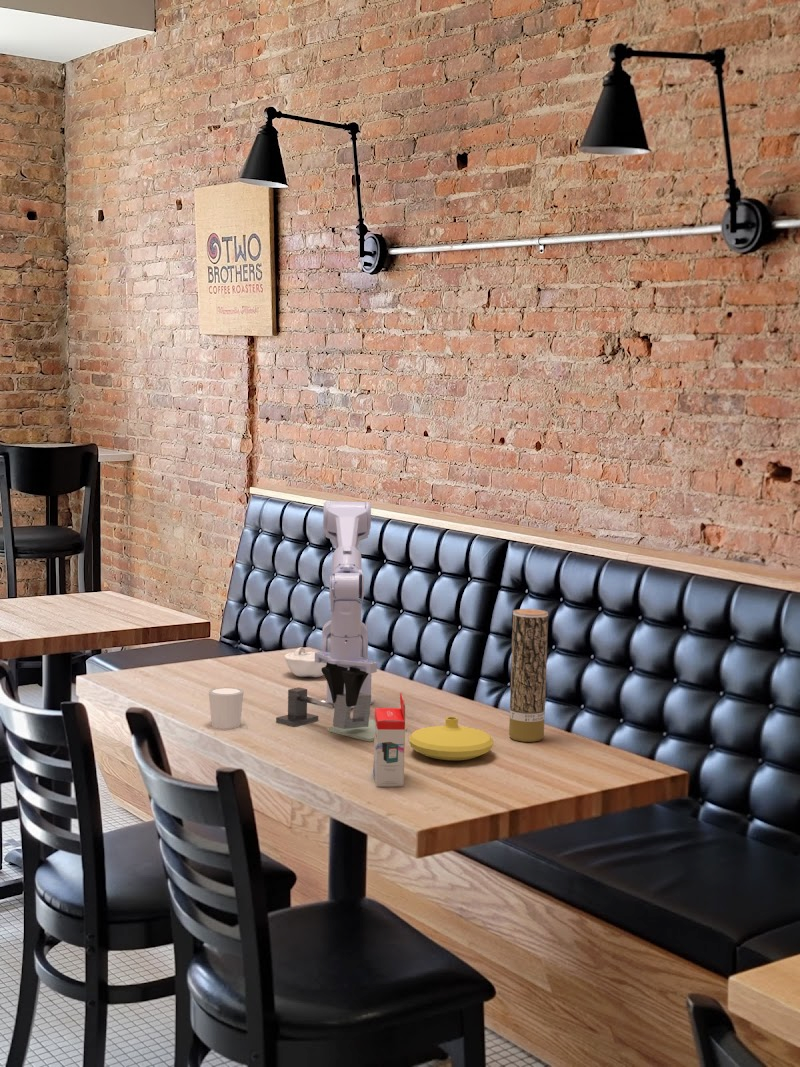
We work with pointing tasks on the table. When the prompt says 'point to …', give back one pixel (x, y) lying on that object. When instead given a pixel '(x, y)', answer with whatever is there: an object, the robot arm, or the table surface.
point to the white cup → (226, 707)
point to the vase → (451, 741)
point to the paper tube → (528, 674)
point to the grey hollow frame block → (359, 712)
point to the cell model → (304, 663)
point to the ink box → (389, 746)
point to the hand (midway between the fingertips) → (344, 704)
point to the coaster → (358, 731)
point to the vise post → (301, 708)
